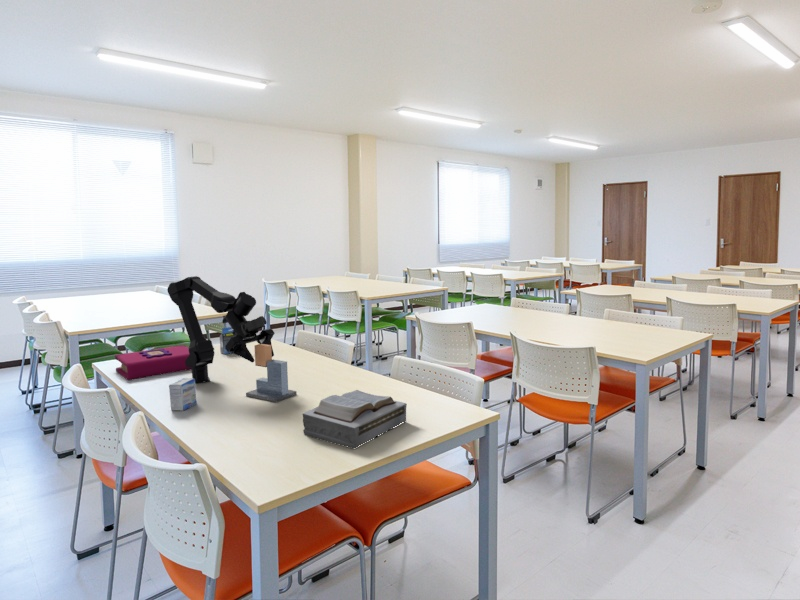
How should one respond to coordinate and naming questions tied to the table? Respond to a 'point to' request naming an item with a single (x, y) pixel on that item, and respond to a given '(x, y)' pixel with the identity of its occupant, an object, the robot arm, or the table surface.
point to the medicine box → (182, 394)
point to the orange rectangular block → (262, 354)
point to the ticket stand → (273, 383)
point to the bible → (353, 418)
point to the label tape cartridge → (225, 339)
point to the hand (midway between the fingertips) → (263, 358)
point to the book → (153, 362)
